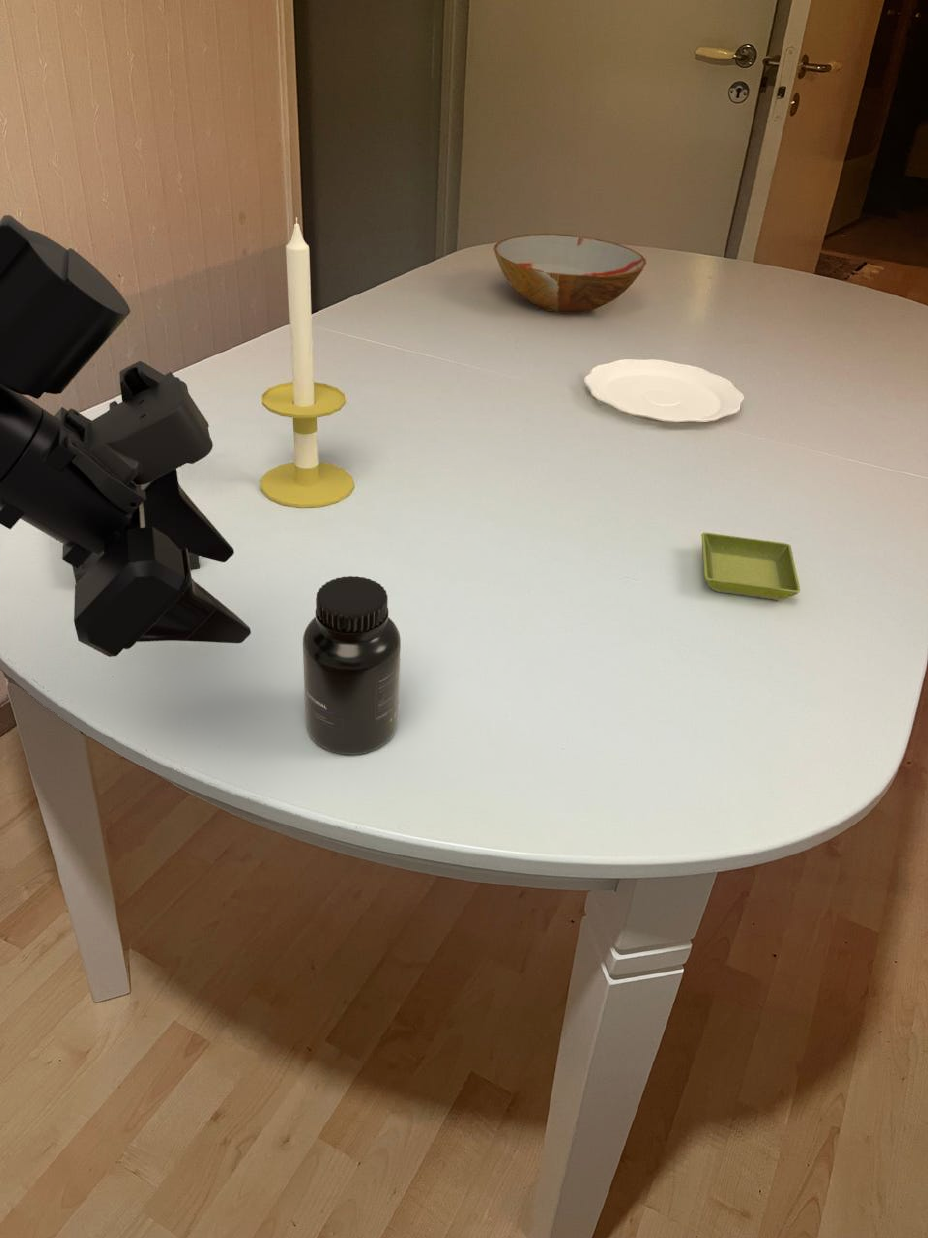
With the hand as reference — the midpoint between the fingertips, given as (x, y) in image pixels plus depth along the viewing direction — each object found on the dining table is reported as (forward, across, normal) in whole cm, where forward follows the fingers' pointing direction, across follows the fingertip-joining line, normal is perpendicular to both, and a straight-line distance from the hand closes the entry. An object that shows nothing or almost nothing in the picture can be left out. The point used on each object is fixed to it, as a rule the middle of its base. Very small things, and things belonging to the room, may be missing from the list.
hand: (237, 594), depth 59 cm
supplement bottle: (+15, 0, +4) cm, 15 cm away
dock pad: (+4, +29, +15) cm, 32 cm away
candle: (+17, +38, +2) cm, 42 cm away
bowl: (+54, +94, -36) cm, 114 cm away
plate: (+52, +53, -34) cm, 82 cm away
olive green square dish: (+44, +12, -24) cm, 51 cm away
